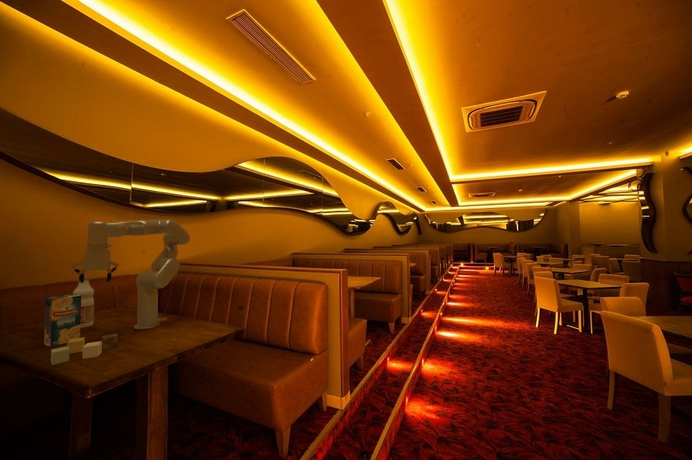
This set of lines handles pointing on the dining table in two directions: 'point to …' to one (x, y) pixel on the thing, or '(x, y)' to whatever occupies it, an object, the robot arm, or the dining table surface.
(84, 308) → the fruit juice
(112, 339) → the walnut cube
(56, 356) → the sage cube
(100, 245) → the robot arm
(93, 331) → the dining table surface
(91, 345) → the cream cube
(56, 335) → the blue cardboard box
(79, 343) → the ochre cube
